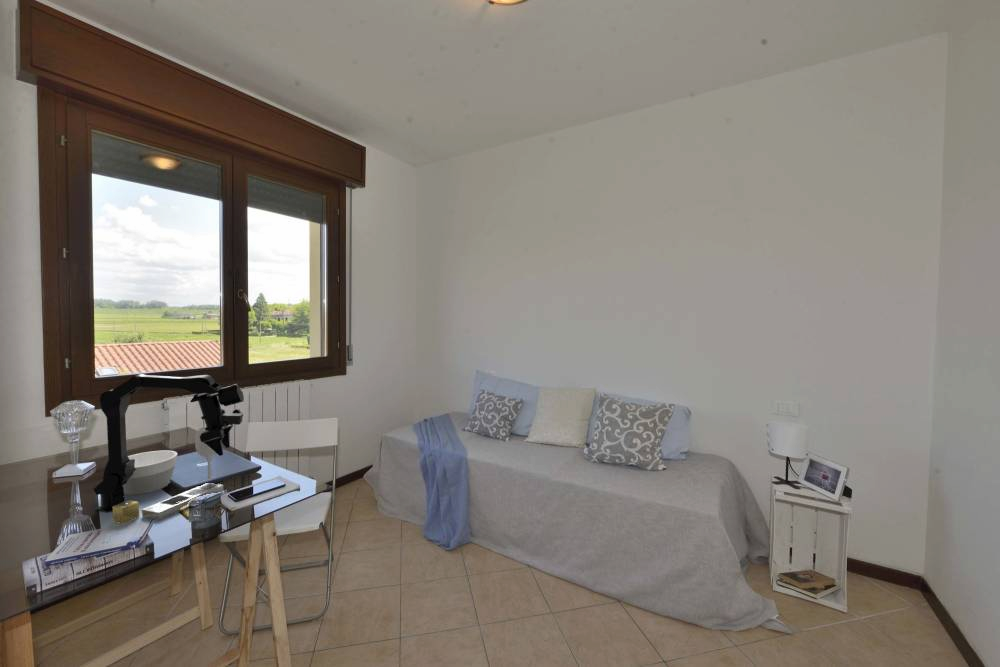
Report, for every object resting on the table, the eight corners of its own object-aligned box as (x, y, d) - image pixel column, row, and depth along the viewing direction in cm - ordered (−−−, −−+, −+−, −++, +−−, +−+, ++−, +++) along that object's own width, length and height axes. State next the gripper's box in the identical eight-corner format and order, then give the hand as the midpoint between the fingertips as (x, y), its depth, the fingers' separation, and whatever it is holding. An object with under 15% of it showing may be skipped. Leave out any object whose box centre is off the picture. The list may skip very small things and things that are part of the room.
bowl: (105, 489, 158) (103, 460, 158) (168, 473, 174) (167, 447, 173) (120, 503, 147) (119, 472, 146) (186, 484, 162) (185, 456, 162)
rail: (142, 517, 137) (142, 509, 137) (208, 489, 158) (207, 482, 158) (159, 520, 135) (158, 512, 134) (223, 491, 155) (223, 484, 155)
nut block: (113, 521, 134) (112, 505, 134) (129, 515, 138) (128, 499, 138) (123, 524, 133) (122, 507, 132) (139, 517, 137) (138, 501, 137)
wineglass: (229, 479, 167) (226, 425, 166) (208, 488, 159) (205, 432, 157) (211, 476, 169) (209, 424, 168) (190, 485, 161) (187, 430, 160)
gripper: (230, 408, 145) (244, 451, 147) (242, 398, 163) (254, 436, 165) (192, 419, 142) (207, 463, 144) (209, 407, 159) (222, 446, 161)
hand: (224, 451), depth 154 cm, fingers open, 9 cm apart
